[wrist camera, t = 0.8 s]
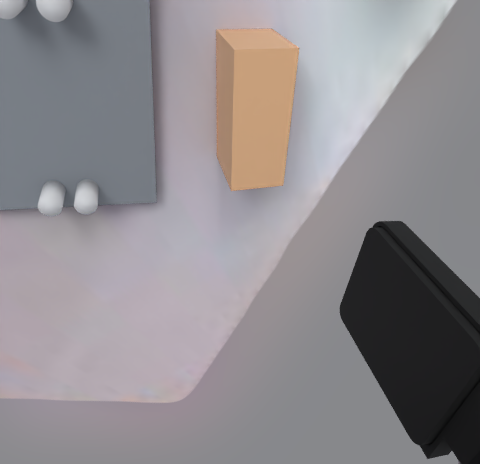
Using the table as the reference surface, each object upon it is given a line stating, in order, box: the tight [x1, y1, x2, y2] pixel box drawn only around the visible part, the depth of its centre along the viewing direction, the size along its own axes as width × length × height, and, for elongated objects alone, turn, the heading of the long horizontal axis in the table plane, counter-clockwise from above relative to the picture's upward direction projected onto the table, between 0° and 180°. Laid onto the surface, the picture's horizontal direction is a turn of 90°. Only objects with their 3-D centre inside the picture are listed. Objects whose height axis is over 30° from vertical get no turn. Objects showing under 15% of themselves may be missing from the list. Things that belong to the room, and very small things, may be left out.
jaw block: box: [216, 29, 299, 191], centre depth 35 cm, size 12×5×7 cm, turn 179°
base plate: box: [0, 0, 157, 216], centre depth 32 cm, size 20×16×4 cm
